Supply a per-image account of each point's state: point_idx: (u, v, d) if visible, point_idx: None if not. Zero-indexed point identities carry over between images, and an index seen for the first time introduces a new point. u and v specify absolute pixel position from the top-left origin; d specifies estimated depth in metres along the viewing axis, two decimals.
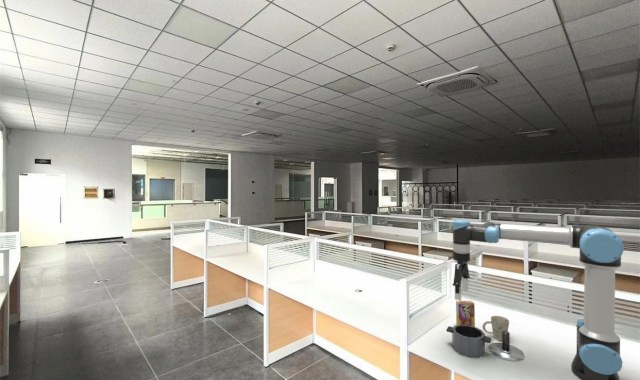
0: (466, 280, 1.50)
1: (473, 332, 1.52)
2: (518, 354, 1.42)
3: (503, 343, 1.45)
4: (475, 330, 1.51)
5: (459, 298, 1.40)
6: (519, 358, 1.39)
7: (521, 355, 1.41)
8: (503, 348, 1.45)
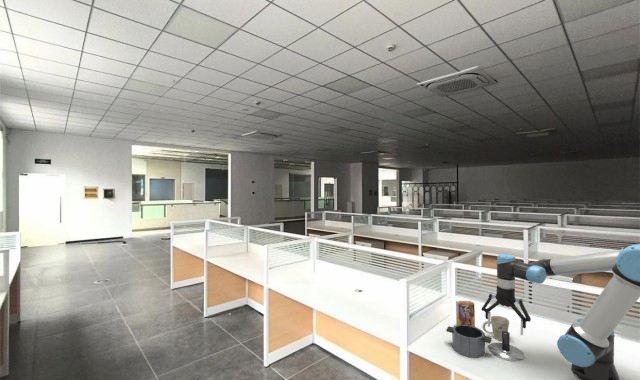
0: None
1: (473, 332, 1.52)
2: (518, 354, 1.42)
3: (503, 343, 1.45)
4: (475, 330, 1.51)
5: None
6: (519, 358, 1.39)
7: (521, 355, 1.41)
8: (503, 348, 1.45)
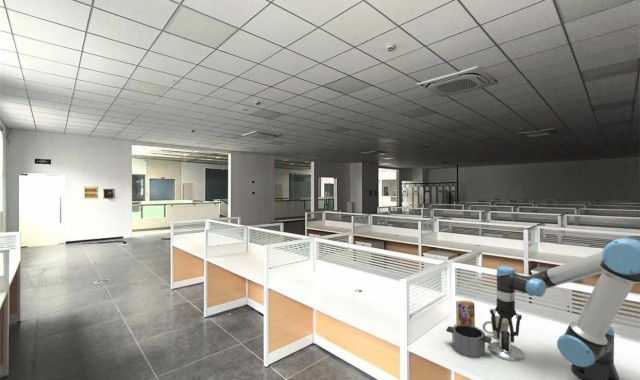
0: (509, 336, 1.44)
1: (473, 332, 1.52)
2: (518, 353, 1.43)
3: (503, 342, 1.45)
4: (475, 330, 1.51)
5: None
6: (519, 357, 1.39)
7: (521, 354, 1.41)
8: (503, 347, 1.45)
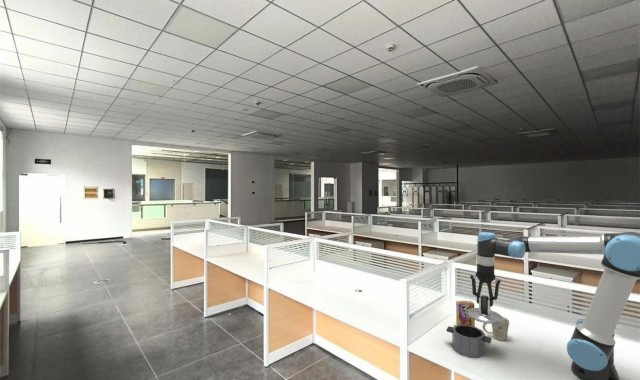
0: None
1: (473, 332, 1.52)
2: (496, 317, 1.44)
3: (482, 307, 1.47)
4: (475, 330, 1.51)
5: None
6: (496, 320, 1.41)
7: (499, 318, 1.43)
8: (482, 312, 1.47)
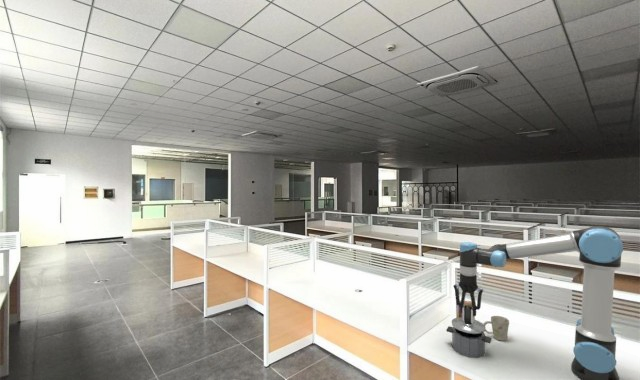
0: None
1: None
2: (479, 326, 1.45)
3: (465, 316, 1.48)
4: None
5: None
6: (479, 330, 1.42)
7: (482, 328, 1.44)
8: (465, 321, 1.48)
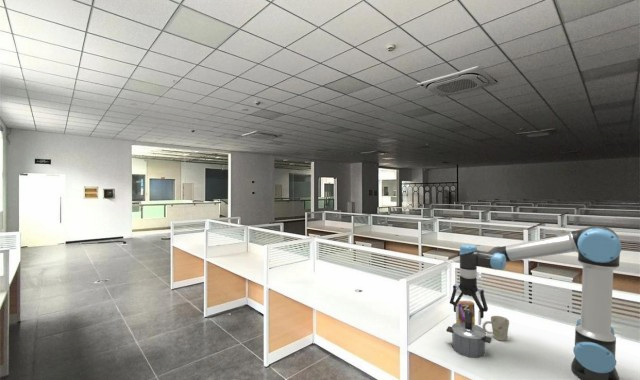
0: None
1: None
2: (480, 332, 1.45)
3: (466, 322, 1.47)
4: None
5: None
6: (480, 336, 1.42)
7: (482, 333, 1.44)
8: (466, 327, 1.48)
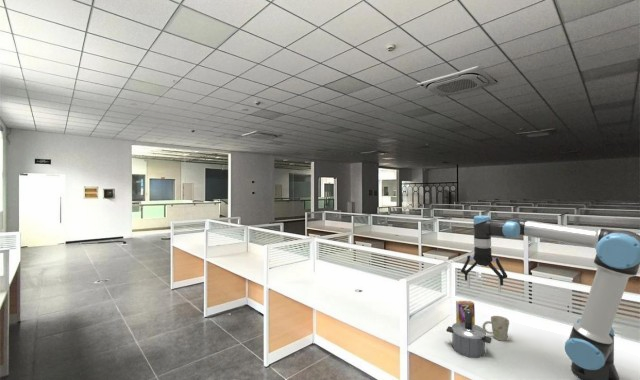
0: (498, 280, 1.44)
1: None
2: (480, 332, 1.45)
3: (466, 322, 1.47)
4: None
5: None
6: (480, 336, 1.42)
7: (482, 333, 1.44)
8: (466, 327, 1.48)
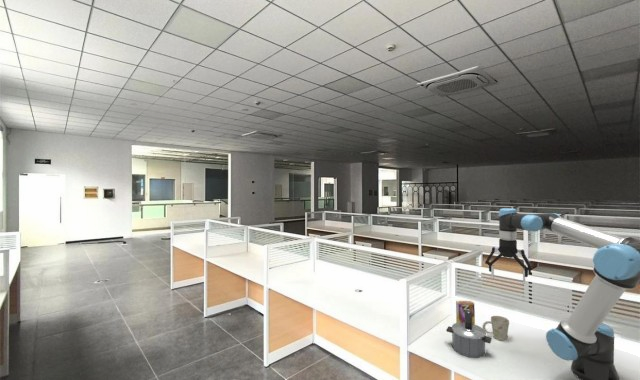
0: (523, 271, 1.47)
1: None
2: (480, 332, 1.45)
3: (466, 322, 1.47)
4: None
5: None
6: (480, 336, 1.42)
7: (482, 333, 1.44)
8: (466, 327, 1.48)
